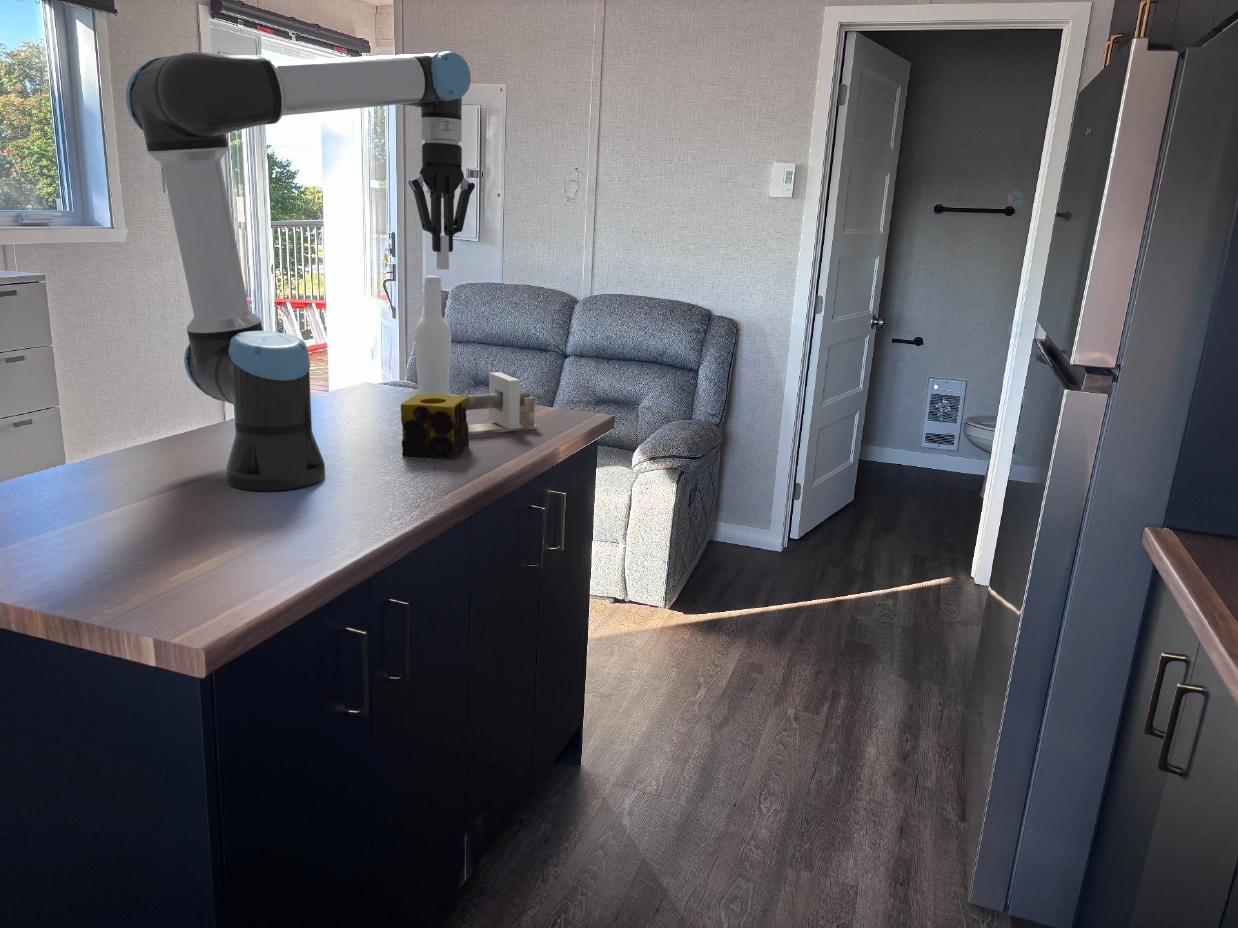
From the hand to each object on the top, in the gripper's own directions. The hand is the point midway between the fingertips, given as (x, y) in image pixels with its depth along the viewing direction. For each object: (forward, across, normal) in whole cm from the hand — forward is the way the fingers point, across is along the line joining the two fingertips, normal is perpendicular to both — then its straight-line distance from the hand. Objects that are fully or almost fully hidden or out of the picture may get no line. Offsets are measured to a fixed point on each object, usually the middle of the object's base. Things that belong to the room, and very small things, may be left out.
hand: (442, 269), depth 182 cm
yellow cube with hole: (+33, -8, -17) cm, 38 cm away
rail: (+32, +8, -4) cm, 34 cm away
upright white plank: (+32, +12, -4) cm, 35 cm away
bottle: (+33, +3, +14) cm, 36 cm away
